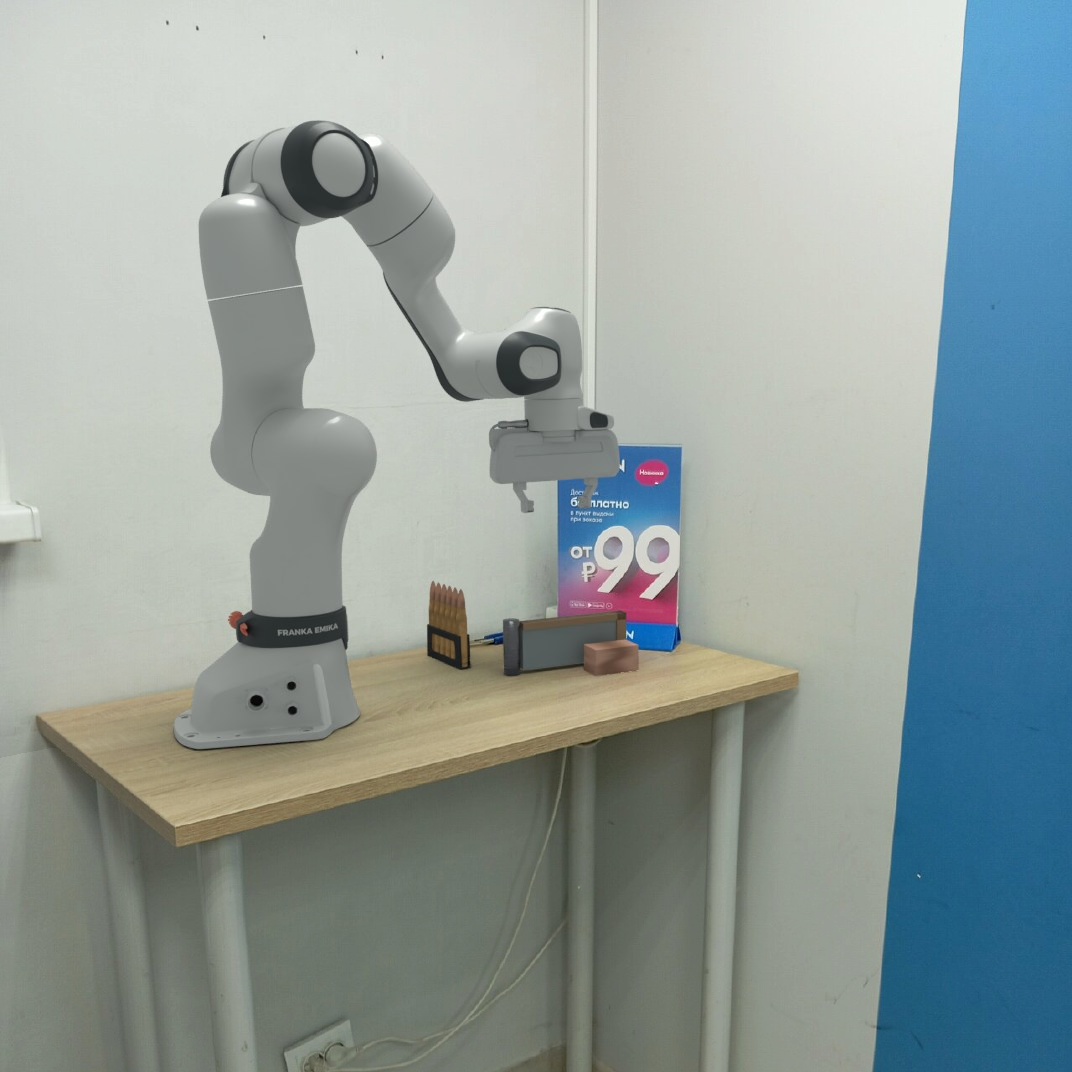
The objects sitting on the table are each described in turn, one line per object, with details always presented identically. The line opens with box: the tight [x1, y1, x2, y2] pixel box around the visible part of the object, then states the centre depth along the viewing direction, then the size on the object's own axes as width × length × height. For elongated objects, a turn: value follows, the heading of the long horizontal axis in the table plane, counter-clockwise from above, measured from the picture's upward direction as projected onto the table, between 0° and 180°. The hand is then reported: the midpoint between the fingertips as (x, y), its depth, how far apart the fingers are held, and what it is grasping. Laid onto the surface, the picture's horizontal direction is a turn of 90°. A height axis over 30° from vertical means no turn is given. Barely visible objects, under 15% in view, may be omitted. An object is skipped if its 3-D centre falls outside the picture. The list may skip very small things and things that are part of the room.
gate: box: [519, 610, 627, 671], centre depth 153 cm, size 17×2×7 cm, turn 114°
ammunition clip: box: [426, 580, 472, 671], centre depth 156 cm, size 11×2×12 cm, turn 34°
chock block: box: [583, 638, 640, 677], centre depth 151 cm, size 7×4×4 cm, turn 113°
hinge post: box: [502, 617, 521, 677], centre depth 149 cm, size 2×2×8 cm
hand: (556, 510), depth 155 cm, fingers open, 8 cm apart
